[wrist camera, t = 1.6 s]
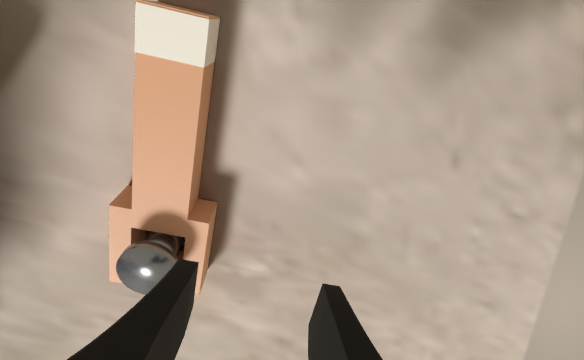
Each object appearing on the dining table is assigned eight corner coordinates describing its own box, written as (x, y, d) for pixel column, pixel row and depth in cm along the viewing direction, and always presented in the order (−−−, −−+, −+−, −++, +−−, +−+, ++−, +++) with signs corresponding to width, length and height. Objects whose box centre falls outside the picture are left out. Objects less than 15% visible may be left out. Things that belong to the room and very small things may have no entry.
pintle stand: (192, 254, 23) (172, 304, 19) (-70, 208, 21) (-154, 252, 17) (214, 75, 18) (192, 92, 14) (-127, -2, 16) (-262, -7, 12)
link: (207, 269, 23) (198, 296, 21) (126, 255, 23) (108, 281, 21) (244, 22, 17) (237, 23, 14) (131, -5, 16) (106, -8, 14)
